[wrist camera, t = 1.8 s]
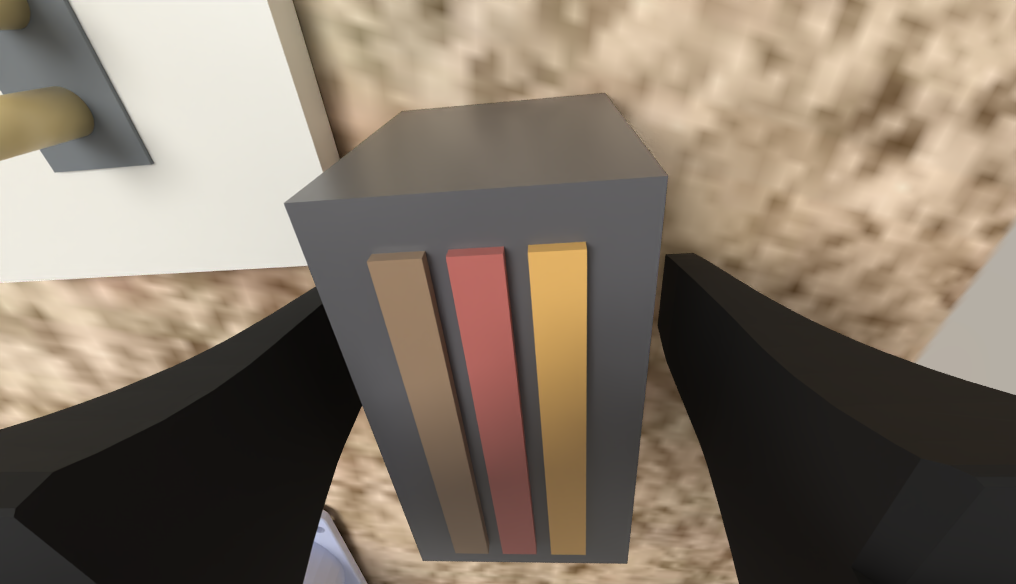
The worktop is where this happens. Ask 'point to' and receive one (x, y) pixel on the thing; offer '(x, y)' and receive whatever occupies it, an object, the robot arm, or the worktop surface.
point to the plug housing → (497, 318)
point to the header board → (154, 136)
